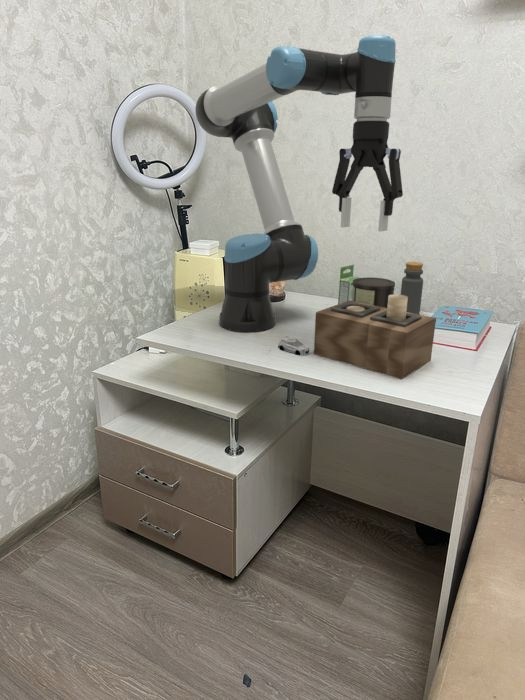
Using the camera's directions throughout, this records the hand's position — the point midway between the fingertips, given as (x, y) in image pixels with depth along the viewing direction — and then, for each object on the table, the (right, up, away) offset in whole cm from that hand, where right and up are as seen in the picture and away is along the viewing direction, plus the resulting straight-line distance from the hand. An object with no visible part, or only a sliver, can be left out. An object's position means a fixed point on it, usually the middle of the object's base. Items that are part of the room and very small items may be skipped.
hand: (363, 228), depth 119 cm
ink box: (+3, -17, +35) cm, 39 cm away
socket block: (+2, -29, 0) cm, 29 cm away
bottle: (+19, -18, +33) cm, 42 cm away
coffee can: (+4, -24, +15) cm, 29 cm away
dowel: (+6, -25, -5) cm, 26 cm away
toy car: (-15, -28, +4) cm, 32 cm away
